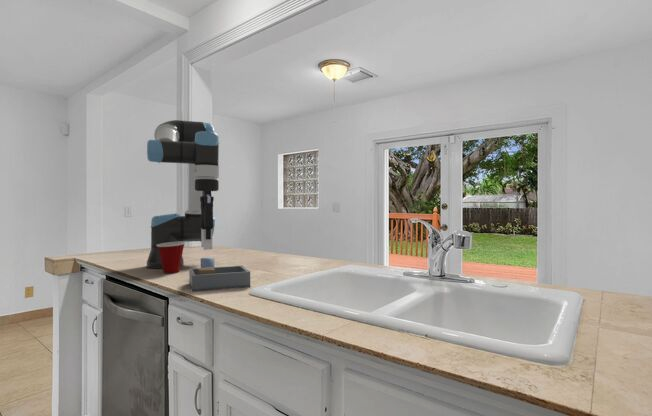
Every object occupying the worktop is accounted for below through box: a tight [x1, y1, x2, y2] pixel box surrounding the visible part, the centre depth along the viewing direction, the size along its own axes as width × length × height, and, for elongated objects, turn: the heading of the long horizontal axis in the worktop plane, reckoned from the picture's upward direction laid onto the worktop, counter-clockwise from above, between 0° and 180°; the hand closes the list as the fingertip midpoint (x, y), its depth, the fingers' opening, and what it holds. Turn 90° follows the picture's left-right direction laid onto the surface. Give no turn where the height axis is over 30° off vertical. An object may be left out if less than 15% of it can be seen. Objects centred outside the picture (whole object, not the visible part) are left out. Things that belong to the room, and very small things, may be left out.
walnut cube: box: [197, 267, 215, 275], centre depth 121 cm, size 5×5×5 cm
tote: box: [188, 265, 251, 293], centre depth 123 cm, size 14×18×5 cm
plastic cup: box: [156, 242, 186, 274], centre depth 147 cm, size 11×11×12 cm
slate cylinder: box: [200, 257, 216, 268], centre depth 137 cm, size 5×5×7 cm
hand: (206, 248), depth 121 cm, fingers open, 7 cm apart
